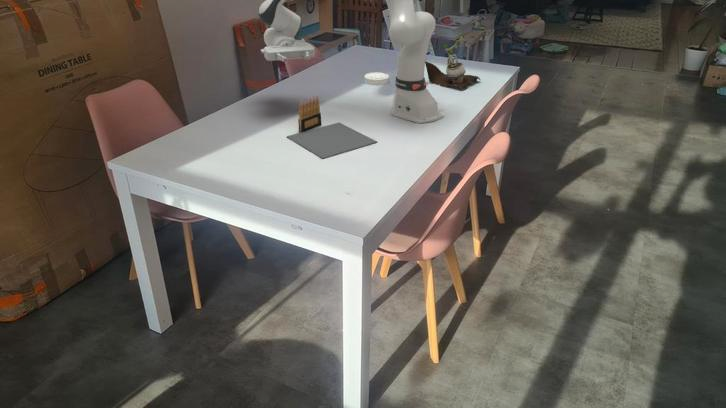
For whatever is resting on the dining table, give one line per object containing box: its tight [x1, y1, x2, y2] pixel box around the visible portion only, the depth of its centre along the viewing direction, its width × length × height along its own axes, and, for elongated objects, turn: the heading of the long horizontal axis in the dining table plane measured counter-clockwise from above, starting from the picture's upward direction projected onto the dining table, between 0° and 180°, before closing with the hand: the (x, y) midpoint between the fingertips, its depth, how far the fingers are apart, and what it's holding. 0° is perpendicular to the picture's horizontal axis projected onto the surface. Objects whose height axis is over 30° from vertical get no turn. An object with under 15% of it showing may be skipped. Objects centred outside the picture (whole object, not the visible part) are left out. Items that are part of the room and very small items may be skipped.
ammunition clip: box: [298, 95, 322, 133], centre depth 201 cm, size 11×2×12 cm, turn 140°
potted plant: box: [425, 35, 481, 91], centre depth 253 cm, size 20×19×25 cm
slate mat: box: [286, 121, 378, 160], centre depth 194 cm, size 24×24×1 cm
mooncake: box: [363, 71, 390, 86], centre depth 257 cm, size 12×12×4 cm
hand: (296, 58), depth 204 cm, fingers open, 8 cm apart
